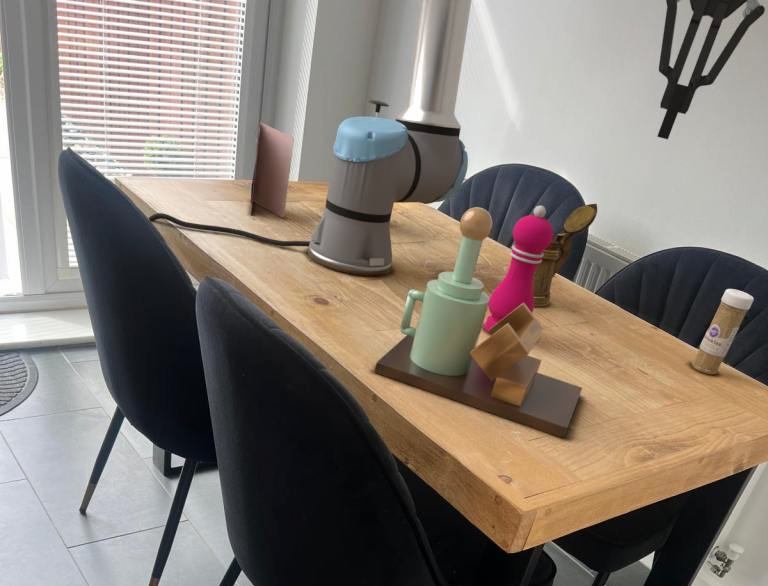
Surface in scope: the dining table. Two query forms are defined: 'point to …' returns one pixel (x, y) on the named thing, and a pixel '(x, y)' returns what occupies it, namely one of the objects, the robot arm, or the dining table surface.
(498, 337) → the oak rest
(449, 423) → the dining table surface
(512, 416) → the walnut board
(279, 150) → the greeting card
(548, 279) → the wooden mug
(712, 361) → the sprinkles bottle
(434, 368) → the jug
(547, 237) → the pepper mill
